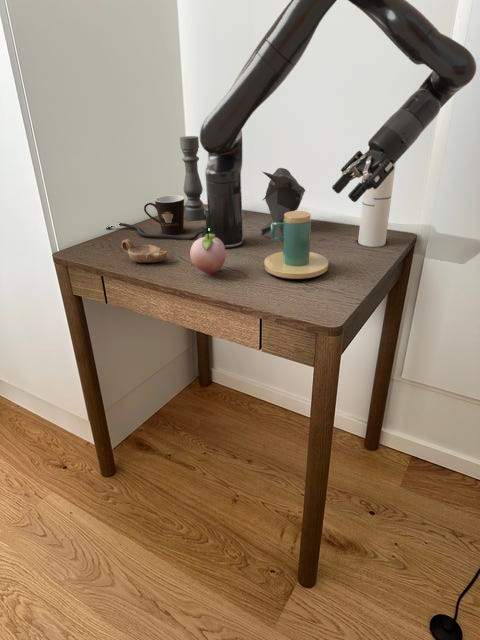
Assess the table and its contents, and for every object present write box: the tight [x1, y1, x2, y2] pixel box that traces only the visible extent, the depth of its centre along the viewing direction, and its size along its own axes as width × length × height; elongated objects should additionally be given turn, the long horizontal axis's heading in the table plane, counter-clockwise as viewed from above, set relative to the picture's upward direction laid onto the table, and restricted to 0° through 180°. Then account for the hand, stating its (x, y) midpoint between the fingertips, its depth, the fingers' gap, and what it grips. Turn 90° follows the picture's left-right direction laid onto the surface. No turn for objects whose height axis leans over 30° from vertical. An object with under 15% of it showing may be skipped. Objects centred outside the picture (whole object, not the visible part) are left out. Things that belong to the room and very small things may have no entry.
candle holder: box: [179, 135, 206, 222], centre depth 146 cm, size 6×6×25 cm
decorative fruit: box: [189, 233, 227, 275], centre depth 106 cm, size 9×8×10 cm
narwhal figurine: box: [261, 167, 306, 238], centre depth 133 cm, size 14×15×18 cm
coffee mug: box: [143, 194, 185, 236], centre depth 137 cm, size 12×9×10 cm
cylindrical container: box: [357, 145, 397, 248], centre depth 118 cm, size 7×7×25 cm
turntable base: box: [273, 275, 320, 282], centre depth 108 cm, size 12×12×1 cm
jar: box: [263, 210, 329, 279], centre depth 105 cm, size 15×15×12 cm
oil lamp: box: [120, 238, 168, 264], centre depth 117 cm, size 13×8×5 cm, turn 61°
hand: (342, 195), depth 102 cm, fingers open, 8 cm apart
